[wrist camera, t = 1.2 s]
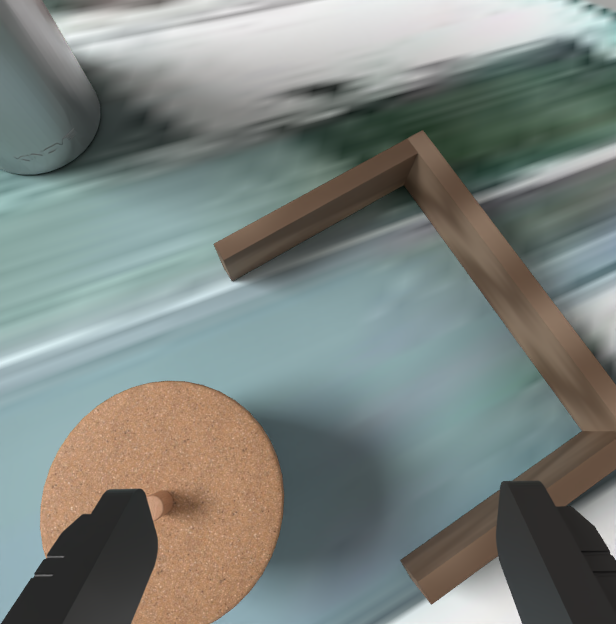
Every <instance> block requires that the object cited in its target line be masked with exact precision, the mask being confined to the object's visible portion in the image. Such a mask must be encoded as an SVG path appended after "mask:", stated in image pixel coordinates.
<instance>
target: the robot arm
mask: <svg viewBox="0 0 616 624" xmlns="http://www.w3.org/2000/svg"><path fill="white" fill-rule="evenodd" d="M100 117H101V115H100V103H99V100H98V97H97V94H96V92H95V90H94V89H93V87H92V85H91V84H90V82H89V80H88V78H87V77H86V75H85V73H84V71H83V70H82V68H81V66H80V65H79V63H78V61H77V59H76V58H75V56H74V54H73V53H72V51H71V49H70V47H69V45H68V43H67V42H66V40H65V38H64V37H63V35H62V33H61V32H60V30H59V28H58V26H57V25H56V23H55V21H54V20H53V18H52V16H51V15H50V13H49V11H48V9H47V8H46V6H45V4H44V3H43V1H42V0H0V169H1V170H4V171H6V172H10V173H16V174H40V173H45V172H50V171H52V170H55V169H57V168H60V167H63V166H64V165H66V164H68V163H69V162H71V161H73V160H74V159H76V158H77V157H78V156H79V155H80V154H81V153H82V152H83V151H85V149H86V148H87V147H88V145H89V144H90V143H91V141H92V140H93V138H94V136H95V134H96V132H97V130H98V126H99V122H100ZM496 544H497V551H498V556H499V560H500V563H501V566H502V569H503V572H504V575H505V577H506V580H507V583H508V586H509V588H510V591H511V594H512V597H513V599H514V602H515V605H516V608H517V610H518V613H519V616H520V619H521V621H522V624H616V560H615V558H614V557H613V555H610V550H609V549H608V547H607V546H606V544H605V542H604V541H603V539H602V538H601V536H600V534H599V533H598V531H597V530H596V528H595V526H593V525H592V524H591V523H590V522H589V521H588V520H586V519H585V518H584V517H583V516H582V515H581V514H580V513H578V512H577V511H576V510H575V509H574V508H573V507H571V506H555V504H554V502H553V501H552V499H551V497H550V495H549V493H548V492H547V490H546V488H545V486H544V485H543V484H542V482H540V481H538V480H535V481H503V482H502V483H501V486H500V494H499V504H498V515H497V526H496ZM157 553H158V537H157V533H156V529H155V526H154V522H153V519H152V515H151V512H150V508H149V504H148V501H147V497H146V494H145V492H144V490H143V489H109V490H107V491H106V492H105V493H104V494H103V495H102V497H101V498H100V500H99V502H98V503H97V505H96V506H95V508H94V510H93V511H92V513H91V514H82V515H81V516H80V517H79V518H77V519H76V520H75V521H74V522H73V523H72V524H71V525H70V526H69V527H67V528H66V529H65V530H64V531H63V532H62V533H61V534H60V536H59V537H58V539H57V540H56V542H55V543H54V545H53V546H52V548H51V549H50V551H49V552H48V554H47V558H46V559H44V560H43V561H42V563H41V564H40V566H39V567H38V569H37V570H36V572H35V573H34V574H35V576H34V578H31V579H30V581H29V582H28V584H27V585H26V587H25V588H24V590H23V591H22V593H21V594H20V596H19V597H18V599H17V600H16V602H15V603H14V605H13V606H12V608H11V609H10V611H9V612H8V614H7V615H6V617H5V618H4V620H3V621H2V623H1V624H131V623H132V620H133V618H134V615H135V613H136V610H137V608H138V606H139V603H140V601H141V598H142V596H143V593H144V591H145V588H146V586H147V583H148V581H149V579H150V576H151V574H152V571H153V569H154V566H155V563H156V559H157Z"/></svg>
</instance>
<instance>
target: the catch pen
mask: <svg viewBox="0 0 616 624" xmlns="http://www.w3.org/2000/svg"><path fill="white" fill-rule="evenodd" d="M403 185H404V186H405V187H406V189H407V190H408V192H409V193H410V194H411V196H412V197H413V198H414V200H415V201H416V203H417V204H418V205H419V207H420V208H421V209H422V211H423V212H424V214H425V215H426V216H427V218H428V219H429V220H430V222H431V223H432V225H433V226H434V227H435V229H436V230H437V232H438V233H439V234H440V236H441V237H442V238H443V240H444V241H445V243H446V244H447V245H448V247H449V248H450V249H451V251H452V252H453V254H454V255H455V256H456V258H457V259H458V260H459V262H460V263H461V265H462V266H463V267H464V269H465V270H466V272H467V273H468V274H469V276H470V277H471V278H472V280H473V281H474V283H475V284H476V285H477V287H478V288H479V289H480V291H481V292H482V294H483V295H484V296H485V298H486V299H487V300H488V302H489V303H490V305H491V306H492V307H493V309H494V310H495V311H496V313H497V314H498V316H499V317H500V318H501V320H502V321H503V323H504V324H505V325H506V327H507V328H508V329H509V331H510V332H511V334H512V335H513V336H514V338H515V339H516V340H517V342H518V343H519V345H520V346H521V347H522V349H523V350H524V351H525V353H526V354H527V356H528V357H529V358H530V360H531V361H532V363H533V364H534V365H535V367H536V368H537V369H538V371H539V372H540V374H541V375H542V376H543V378H544V379H545V380H546V382H547V383H548V385H549V386H550V387H551V389H552V390H553V391H554V393H555V394H556V396H557V397H558V398H559V400H560V401H561V403H562V404H563V405H564V407H565V408H566V409H567V411H568V412H569V414H570V415H571V416H572V418H573V419H574V420H575V422H576V423H577V425H578V426H579V427H580V429H581V430H582V432H580V433H579V434H577V435H576V436H575V437H573V438H572V439H570V440H569V441H568V442H566V443H565V444H563V445H562V446H561V447H559V448H558V449H556V450H555V451H554V452H552V453H551V454H549V455H548V456H546V457H545V458H544V459H542V460H541V461H539V462H538V463H537V464H535V465H534V466H532V467H531V468H530V469H528V470H527V471H525V472H524V473H523V474H521V475H520V476H518V477H517V478H515V479H514V480H513V481H535V480H538V481H540V482H542V484H543V485H544V486H545V488H546V490H547V492H548V493H549V495H550V497H551V499H552V501H553V502H554V504H555V506H566V505H568V504H569V503H570V502H572V501H573V500H574V499H576V498H577V497H578V496H580V495H581V494H582V493H584V492H585V491H587V490H588V489H589V488H591V487H592V486H593V485H595V484H596V483H597V482H599V481H600V480H601V479H603V478H604V477H606V476H607V475H608V474H610V473H611V472H612V471H614V470H615V469H616V384H615V383H614V382H613V380H612V379H611V378H610V376H609V375H608V374H607V372H606V371H605V370H604V369H603V367H602V366H601V365H600V363H599V362H598V361H597V359H596V358H595V357H594V355H593V354H592V353H591V351H590V350H589V349H588V347H587V346H586V345H585V343H584V342H583V341H582V339H581V338H580V337H579V336H578V334H577V333H576V332H575V330H574V329H573V328H572V326H571V325H570V324H569V322H568V321H567V320H566V318H565V317H564V316H563V314H562V313H561V312H560V310H559V309H558V308H557V306H556V305H555V304H554V303H553V301H552V300H551V299H550V297H549V296H548V295H547V293H546V292H545V291H544V289H543V288H542V287H541V285H540V284H539V283H538V281H537V280H536V279H535V277H534V276H533V275H532V273H531V272H530V271H529V270H528V268H527V267H526V266H525V264H524V263H523V262H522V260H521V259H520V258H519V256H518V255H517V254H516V252H515V251H514V250H513V248H512V247H511V246H510V244H509V243H508V242H507V240H506V239H505V238H504V237H503V235H502V234H501V233H500V231H499V230H498V229H497V227H496V226H495V225H494V223H493V222H492V221H491V219H490V218H489V217H488V215H487V214H486V213H485V211H484V210H483V209H482V207H481V206H480V205H479V204H478V202H477V201H476V200H475V198H474V197H473V196H472V194H471V193H470V192H469V190H468V189H467V188H466V186H465V185H464V184H463V182H462V181H461V180H460V178H459V177H458V176H457V174H456V173H455V172H454V171H453V169H452V168H451V167H450V165H449V164H448V163H447V161H446V160H445V159H444V157H443V156H442V155H441V153H440V152H439V151H438V149H437V148H436V147H435V145H434V144H433V143H432V141H431V140H430V139H429V138H428V136H427V135H426V134H425V132H424V131H423V130H422V131H420V132H418V133H417V134H415V135H413V136H411V137H409V138H407V139H406V140H404V141H402V142H400V143H398V144H396V145H395V146H393V147H391V148H389V149H387V150H385V151H384V152H382V153H380V154H378V155H376V156H374V157H372V158H371V159H369V160H367V161H365V162H363V163H361V164H360V165H358V166H356V167H354V168H352V169H350V170H349V171H347V172H345V173H343V174H341V175H339V176H338V177H336V178H334V179H332V180H330V181H328V182H327V183H325V184H323V185H321V186H319V187H317V188H316V189H314V190H312V191H310V192H308V193H306V194H304V195H303V196H301V197H299V198H297V199H295V200H293V201H292V202H290V203H288V204H286V205H284V206H282V207H281V208H279V209H277V210H275V211H273V212H271V213H270V214H268V215H266V216H264V217H262V218H260V219H259V220H257V221H255V222H253V223H251V224H249V225H248V226H246V227H244V228H242V229H240V230H238V231H236V232H235V233H233V234H231V235H229V236H227V237H225V238H224V239H222V240H220V241H218V242H216V243H214V247H215V249H216V251H217V253H218V256H219V258H220V260H221V263H222V265H223V267H224V269H225V270H226V272H227V274H228V275H229V277H230V279H231V280H232V281H234V280H236V279H237V278H239V277H241V276H243V275H245V274H246V273H248V272H250V271H252V270H253V269H255V268H257V267H259V266H261V265H262V264H264V263H266V262H268V261H269V260H271V259H273V258H275V257H277V256H278V255H280V254H282V253H284V252H286V251H287V250H289V249H291V248H293V247H294V246H296V245H298V244H300V243H302V242H303V241H305V240H307V239H309V238H310V237H312V236H314V235H316V234H318V233H319V232H321V231H323V230H325V229H326V228H328V227H330V226H332V225H334V224H335V223H337V222H339V221H341V220H342V219H344V218H346V217H348V216H350V215H351V214H353V213H355V212H357V211H358V210H360V209H362V208H364V207H366V206H367V205H369V204H371V203H373V202H375V201H376V200H378V199H380V198H382V197H383V196H385V195H387V194H389V193H391V192H392V191H394V190H396V189H398V188H399V187H401V186H403ZM499 494H500V490H499V491H497V492H496V493H494V494H493V495H492V496H490V497H489V498H487V499H486V500H484V501H483V502H482V503H480V504H479V505H477V506H476V507H475V508H473V509H472V510H470V511H469V512H468V513H466V514H465V515H463V516H462V517H461V518H459V519H458V520H456V521H455V522H453V523H452V524H451V525H449V526H448V527H446V528H445V529H444V530H442V531H441V532H439V533H438V534H437V535H435V536H434V537H432V538H431V539H430V540H428V541H427V542H425V543H424V544H422V545H421V546H420V547H418V548H417V549H415V550H414V551H413V552H411V553H410V554H408V555H407V556H406V557H404V558H403V559H401V560H400V561H401V563H402V564H403V566H404V568H405V569H406V571H407V573H408V574H409V576H410V578H411V579H412V581H413V582H414V583H415V584H416V586H417V587H418V588H419V589H420V591H421V592H422V593H423V595H424V596H425V597H426V598H427V600H428V601H429V602H430V604H431V605H432V604H433V603H434V602H436V601H437V600H439V599H440V598H441V597H443V596H444V595H445V594H447V593H448V592H449V591H451V590H452V589H453V588H455V587H456V586H458V585H459V584H460V583H462V582H463V581H464V580H466V579H467V578H468V577H470V576H471V575H472V574H474V573H475V572H477V571H478V570H479V569H481V568H482V567H483V566H485V565H486V564H487V563H489V562H490V561H491V560H493V559H494V558H496V557H497V556H498V551H497V544H496V526H497V515H498V504H499Z"/></svg>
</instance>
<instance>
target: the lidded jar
mask: <svg viewBox="0 0 616 624" xmlns="http://www.w3.org/2000/svg"><path fill="white" fill-rule="evenodd" d="M109 489H143V490H144V492H145V494H146V497H147V501H148V504H149V508H150V512H151V515H152V519H153V522H154V526H155V529H156V533H157V537H158V553H157V559H156V563H155V566H154V569H153V571H152V574H151V576H150V579H149V581H148V583H147V586H146V588H145V591H144V593H143V596H142V598H141V601H140V603H139V606H138V608H137V610H136V613H135V615H134V618H133V620H132V623H131V624H210V623H212V622H214V621H216V620H218V619H219V618H220V617H222V616H223V615H225V614H226V613H227V612H229V611H230V610H231V609H233V608H234V607H235V606H236V605H237V604H238V603H239V602H240V601H241V600H242V599H243V598H244V597H245V596H246V595H247V594H248V593H249V592H250V591H251V589H252V588H253V586H254V585H255V584H256V582H257V581H258V580H259V578H260V577H261V576H262V574H263V572H264V570H265V568H266V566H267V564H268V562H269V561H270V559H271V557H272V554H273V551H274V549H275V546H276V543H277V540H278V537H279V533H280V528H281V523H282V518H283V505H284V489H283V479H282V473H281V469H280V465H279V461H278V457H277V455H276V453H275V450H274V448H273V445H272V443H271V441H270V439H269V437H268V436H267V434H266V433H265V431H264V429H263V428H262V426H261V425H260V424H259V423H258V421H257V420H256V419H255V418H254V417H253V416H252V415H251V413H250V412H249V411H247V410H246V409H245V408H244V407H243V406H241V405H240V404H239V403H238V402H237V401H235V400H233V399H232V398H230V397H228V396H227V395H225V394H223V393H221V392H220V391H217V390H214V389H212V388H209V387H206V386H204V385H200V384H195V383H190V382H185V381H161V382H152V383H147V384H143V385H140V386H136V387H132V388H130V389H128V390H125V391H123V392H121V393H118V394H116V395H114V396H112V397H111V398H109V399H108V400H106V401H104V402H103V403H101V404H100V405H98V406H97V407H96V408H95V409H93V410H92V411H91V412H90V413H89V414H88V415H86V416H85V417H84V418H83V419H82V420H81V421H80V422H79V423H78V425H77V426H76V427H75V428H74V429H73V430H72V431H71V432H70V434H69V435H68V437H67V438H66V440H65V441H64V443H63V444H62V446H61V447H60V449H59V451H58V453H57V455H56V457H55V459H54V461H53V463H52V465H51V467H50V470H49V473H48V476H47V479H46V482H45V486H44V490H43V496H42V502H41V514H40V530H41V537H42V544H43V550H44V553H45V556H46V558H47V554H48V552H49V551H50V549H51V548H52V546H53V545H54V543H55V542H56V540H57V539H58V537H59V536H60V534H61V533H62V532H63V531H64V530H65V529H66V528H67V527H69V526H70V525H71V524H72V523H73V522H74V521H75V520H76V519H77V518H79V517H80V516H81V515H82V514H91V513H92V511H93V510H94V508H95V506H96V505H97V503H98V502H99V500H100V498H101V497H102V495H103V494H104V493H105V492H106V491H107V490H109Z"/></svg>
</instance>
